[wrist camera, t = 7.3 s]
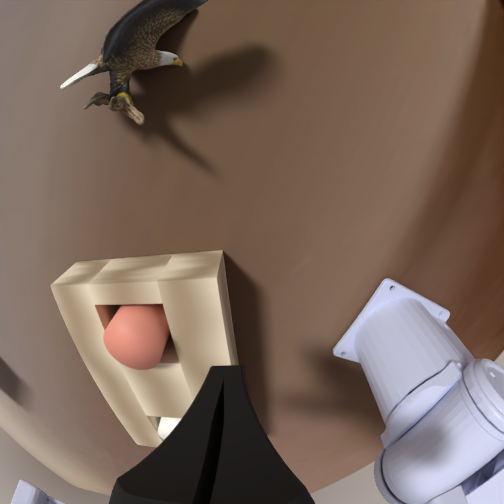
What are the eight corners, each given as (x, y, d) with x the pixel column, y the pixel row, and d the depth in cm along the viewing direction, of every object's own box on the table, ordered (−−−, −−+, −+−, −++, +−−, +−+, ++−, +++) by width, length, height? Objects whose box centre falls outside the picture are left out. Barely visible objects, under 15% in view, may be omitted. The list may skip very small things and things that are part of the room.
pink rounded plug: (169, 285, 19) (151, 322, 15) (180, 330, 21) (167, 371, 17) (120, 287, 20) (94, 322, 15) (134, 330, 21) (115, 368, 17)
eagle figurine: (198, 129, 15) (253, -6, 11) (84, 129, 10) (153, -58, 5) (134, 100, 18) (173, -5, 13) (47, 100, 12) (89, -28, 8)
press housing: (222, 250, 19) (216, 277, 16) (248, 421, 27) (248, 451, 23) (76, 261, 20) (50, 285, 16) (145, 417, 27) (137, 444, 23)
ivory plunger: (200, 389, 25) (195, 427, 20) (208, 412, 26) (204, 447, 22) (161, 388, 25) (151, 424, 21) (172, 411, 26) (164, 444, 22)
